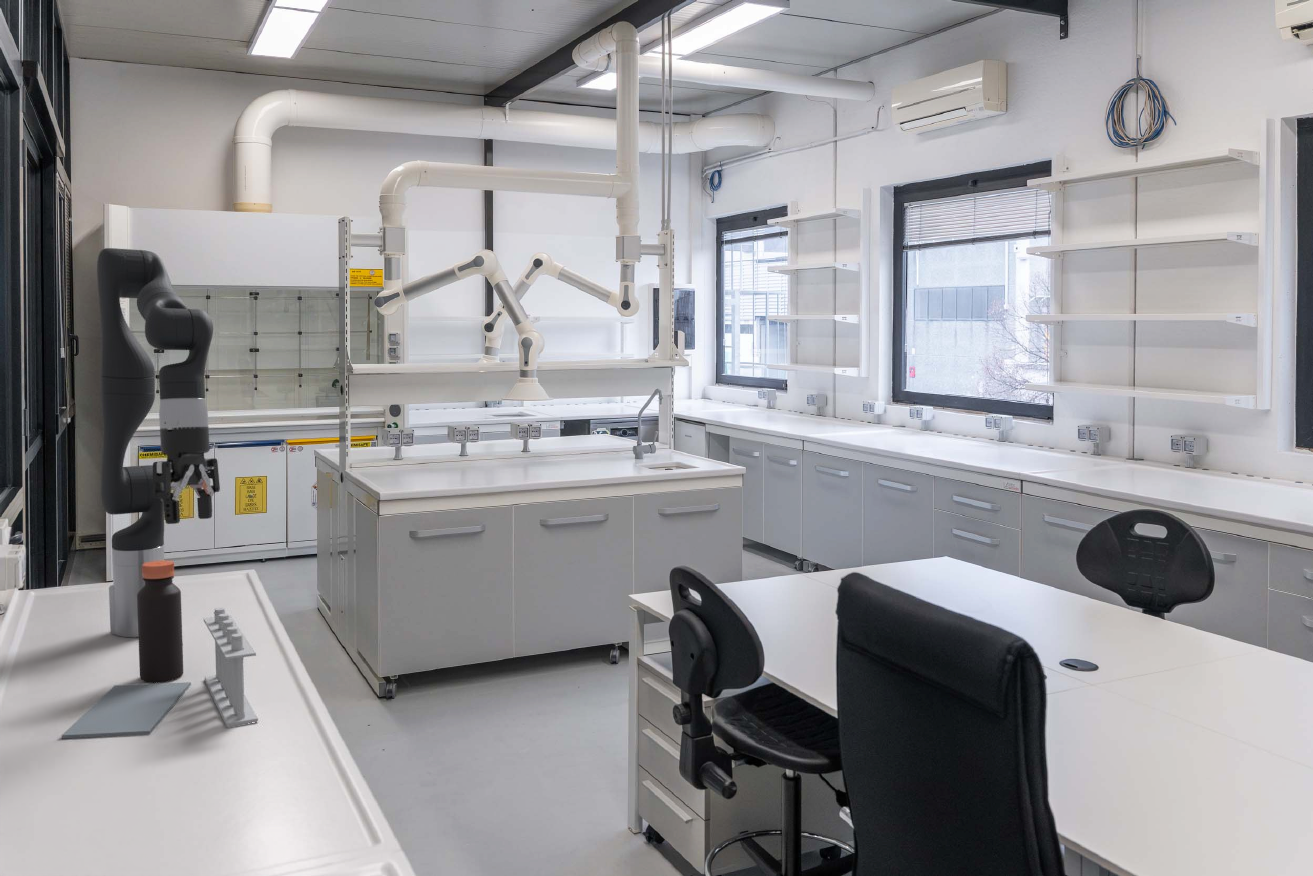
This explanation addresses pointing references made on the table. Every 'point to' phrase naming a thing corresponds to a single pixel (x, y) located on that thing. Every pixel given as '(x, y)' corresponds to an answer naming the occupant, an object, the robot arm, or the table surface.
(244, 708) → the test tube rack
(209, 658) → the table surface
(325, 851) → the table surface
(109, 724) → the slate mat
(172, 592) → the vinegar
